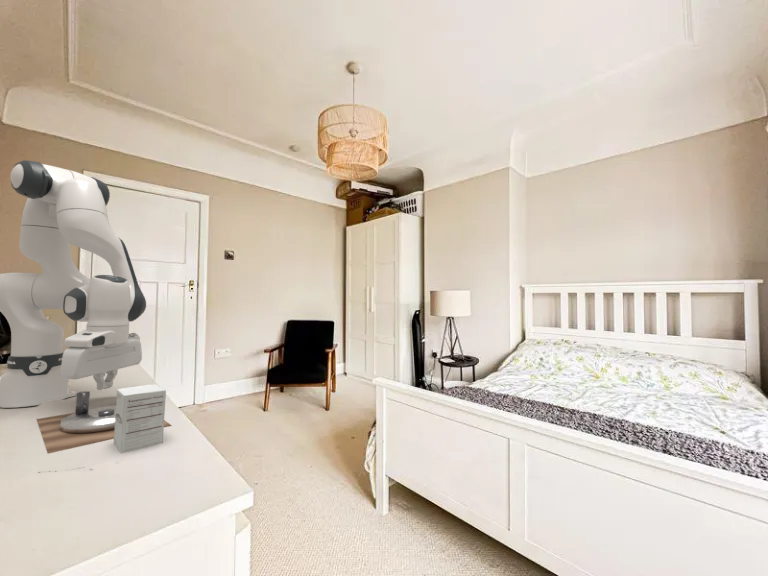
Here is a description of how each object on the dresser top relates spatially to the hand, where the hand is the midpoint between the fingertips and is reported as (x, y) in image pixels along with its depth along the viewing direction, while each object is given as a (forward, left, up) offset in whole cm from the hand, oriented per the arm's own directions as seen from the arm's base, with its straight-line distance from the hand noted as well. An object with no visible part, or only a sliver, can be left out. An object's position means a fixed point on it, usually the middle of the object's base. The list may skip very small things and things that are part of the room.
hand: (104, 388), depth 88 cm
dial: (+10, 0, -6) cm, 12 cm away
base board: (+9, -1, -8) cm, 12 cm away
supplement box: (+29, +1, -8) cm, 30 cm away
